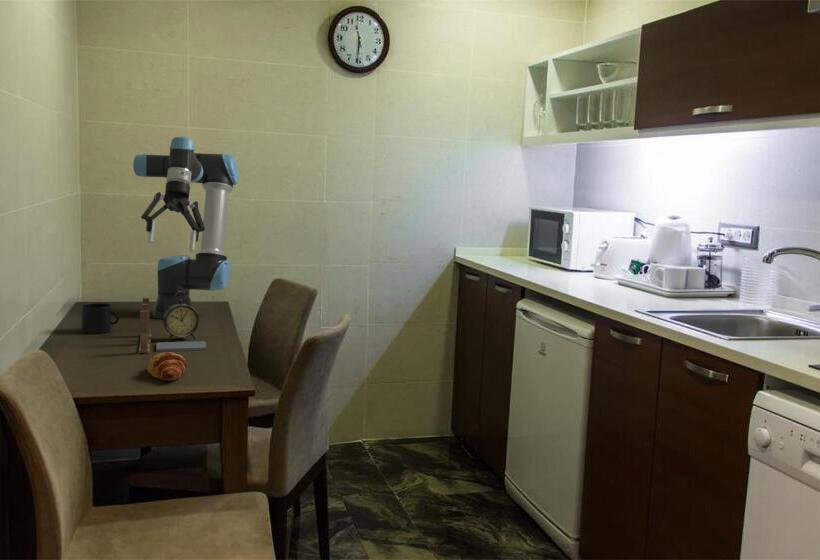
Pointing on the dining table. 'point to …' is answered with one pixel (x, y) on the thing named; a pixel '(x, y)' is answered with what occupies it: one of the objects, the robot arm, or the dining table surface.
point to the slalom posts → (145, 328)
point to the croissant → (167, 366)
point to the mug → (97, 318)
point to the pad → (181, 346)
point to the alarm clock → (181, 320)
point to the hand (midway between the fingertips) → (171, 246)
